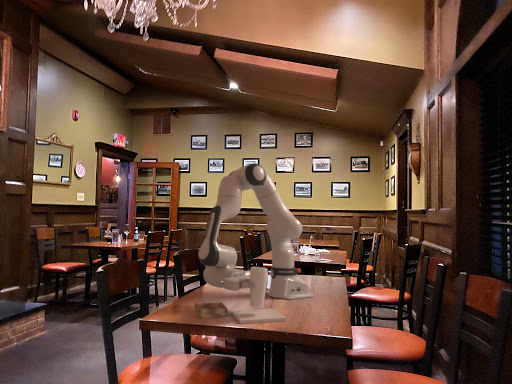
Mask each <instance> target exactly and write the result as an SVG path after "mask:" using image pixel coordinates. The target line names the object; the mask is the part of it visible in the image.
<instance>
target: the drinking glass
mask: <svg viewBox="0 0 512 384" xmlns="http://www.w3.org/2000/svg"><path fill="white" fill-rule="evenodd" d="M249 271H250V283H254V288H249V294H250V295H249V297H250V298H249V299H250V301H249V306H250V307H251V308H253V309H254V308H255V309H263V308H264V306H265V297H266V290H267V285H268V268H267V267H263V266H262V267H261V266H252V267H250V269H249ZM266 284H267V285H266Z"/></svg>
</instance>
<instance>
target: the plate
mask: <svg viewBox="0 0 512 384" xmlns="http://www.w3.org/2000/svg"><path fill="white" fill-rule="evenodd" d="M230 314H231V316H232V317H233V318H234V319H235V320H236V321H237V322H238V323H239V324H240V325H246V324H261V323H274V322H275V323H277V322H287V317H286V316H285V315H283V314H282V313H281V312H279V311H278V310H276V309H275V308H256V309H241V310H240V309H239V310H231V312H230Z"/></svg>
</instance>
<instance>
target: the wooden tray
mask: <svg viewBox="0 0 512 384" xmlns="http://www.w3.org/2000/svg"><path fill="white" fill-rule="evenodd" d="M193 305H194V308H193V309H194V310H193V311H194V313H195V315H196V318H197V319H198V320H199V319H200V320H201V319H215V318H228V317H229V309H228V308H227V306H226V305H225V304H224V303H223V302H222V301H221V302H219V301H217V302H203V303H202V302H200V303H199V302H198V303H194V304H193Z"/></svg>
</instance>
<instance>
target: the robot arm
mask: <svg viewBox="0 0 512 384" xmlns="http://www.w3.org/2000/svg"><path fill="white" fill-rule="evenodd" d="M218 187H219V188H218V191H217V198H216V199H217V200H216V203H215V205H214V206H213V207H212V208H211V210H210V212H209V214H208V218H207V221H206V226H205V229H204V234H203V237H202V241H201V243H200V245H199V248H198V252H197V255H198V260H199V262H200V263H201V265H202V266H204V267H205V268H204V270H203V274H202V275H203V279H204V281H205V282H206V283H207V284H208V285H209V286H212V287H215V288H218V289H225V290H228V291H231V292H232V291H233V292H239V291H240V290H243V289H250V288H254V283H250V269H249V270H248V269H237V268H236V267H237V262H238V257H239V256H238V251H237V250H236V248H235V247H233V246H230V245H225V244H220V243H218V236H219V231H220V226H221V225H222V224H221V223H222V222H223V221H225V220H229V219H230V220H231V219H233V218H234V217H236V216H237V215H238V214H239V213H241V209H242V199H243V196H242V195H243V191H248V190H250V189H251V190H252V191H253V192H254V195H255V197H256V199H257V201H258V203H259V205H260V207H261V209H262V211H263V213H264V214H265V215H266V216H267V217H268V218H269V220H268V222H267V223H266V232H267V234H268V236H269V240H270V246H271V253H272V254H271V266H270V267H271V268H270V278H271V279H270V286H269V291H268V296H269V297H272V298H276V299H286V300H297V299H298V300H299V299H307V298H313V297H314V293H313V292H311V291H310V289H309V284H308V282H306V280H305V279H304V278H302V277H301V276H300V275H298V273H301V272H302V269H301V268H297V267H295V251H294V249H293V246H292V243H291V240H296V239H298V238H300V237H301V234H302V232H303V224H302V223H301V221H299V220H298V218H296V217H295V215H294V214H293V213H292V212H291V211H290V209H289V208H288V206H287V205H286V204H285V202H284V200H283V198H282V196H281V193H280V192H279V189H278V188H277V186H276V184H275V182H274V181H273V179H272V178H271V176H270V175H269V174H268V173H266V171H265V169H264V167H263V166H262V165H260V163H249V164H248V165H243V166H241V167H239V168H237V169H236V170H233V171H231V172H229V174H228V175H226V176H224V177H222V179H221V180H220V182H219V186H218ZM266 286H268V283H267V284H266Z"/></svg>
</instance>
